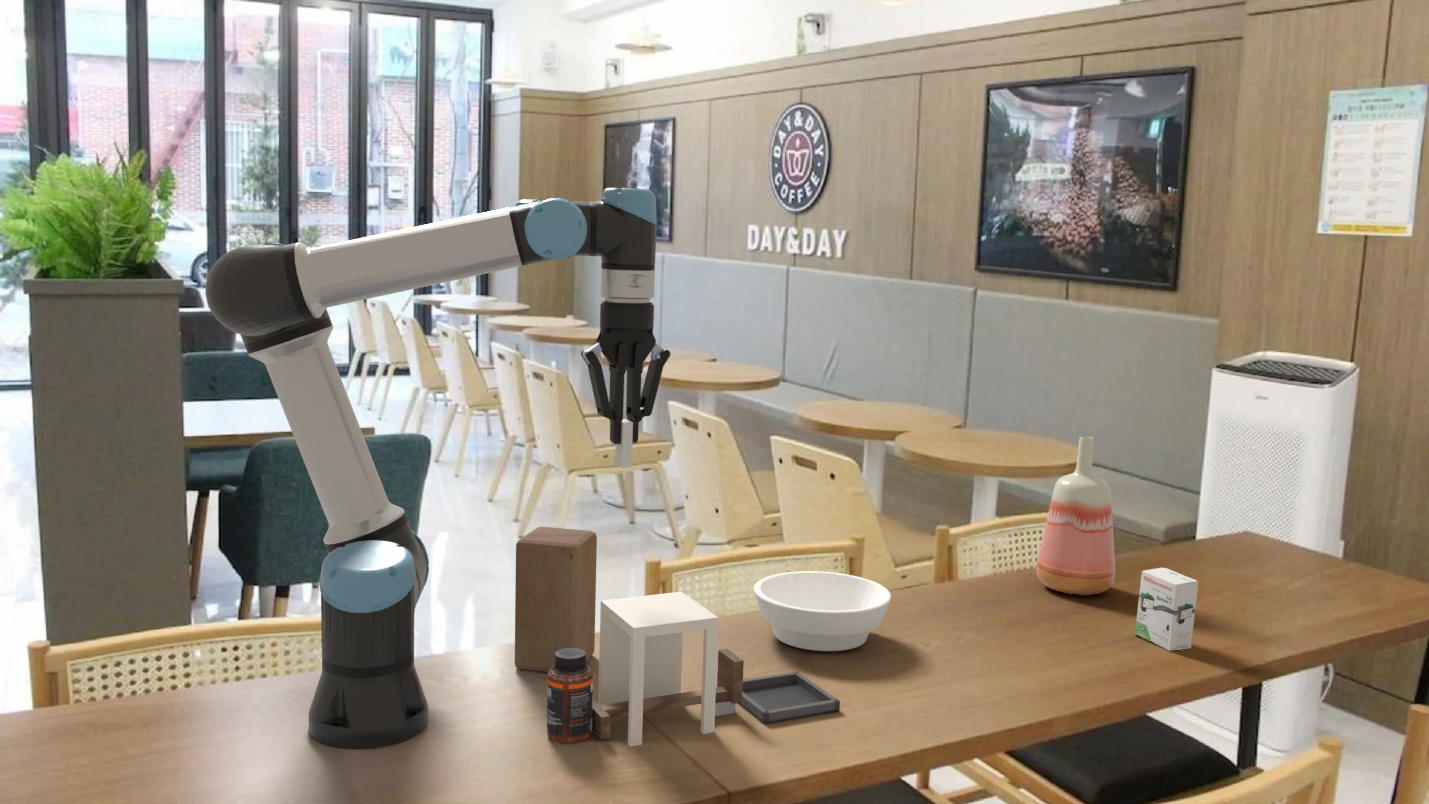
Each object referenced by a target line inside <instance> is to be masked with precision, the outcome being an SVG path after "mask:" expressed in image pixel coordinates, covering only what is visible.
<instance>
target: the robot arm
mask: <svg viewBox="0 0 1429 804" xmlns="http://www.w3.org/2000/svg"><path fill="white" fill-rule="evenodd" d="M657 224H658V222H657V197H656V195H655V194H654V193H653V191H652V190H651V189H646V188H645V189H644V188H635V187H634V188H632V187H631V188H628V187H627V188H626V187H621V188H619V187H607V188H605V189H604V190H603V192H602V197H601V200H600V201H599V200H597V201H577V200H569V199H568V198H565V197H559V196H554V197H548V198H534V199H520V200H517V202H516V203H515V205H514V206H513V207H505V208H501V209H495V210H491V211H487V212H481V213H476V214H472V215H467V216H461V217H457V218H452V219H448V220H442V221H437V222H433V223H428V224H421V225H419V226H413V227H408V228H404V229H398V230H393V231H388V232H383V233H379V234H374V235H368V236H363V237H360V238H354V239H349V240H344V241H341V242H340V241H339V242H335V243H331V244H330V243H329V244H325V245H321V246H316V247H309V246H308V245H306V244H304V243H303V242H301V241H300V242H295V243H294V242H293V243H290V244H282V243H277V242H266V243H263V244H255V245H245V246H240V247H235V248H233V249H231V250H229V251H227V252H226V253H224V254H222V255H221V256H220V257H219V258H218V259H217V260H216V261H215V262H214V263H213V265H212V266H211V267H210V270H209V271H208V274H207V276H206V281H205V286H204V287H205V289H204V290H205V299H206V304H207V305H208V308H209V310H210V312H211V314H212V315H213V317H214V318H215V319H216V320H217V321H218V322H219V323H220V324H221V325H222V326H223V327H224V328H226V329H227V330H229V331H231V332H233V333H235V334H237V335H239V336H240V337H241V339H242V342H243V344H244V347H245V349H246V352H247V355H248V357H250V358H253V359H254V360H257V361H260V362H261V363H263V364H264V365H265V368H266V370H267V373H268V375H269V377H270V380H271V382H272V383H271V384H272V385H273V387H274V388H273V389H274V390H275V393H276V395H277V398H278V400H279V402H280V405H281V408H282V410H283V413H284V416H285V418H286V420H287V423H288V425H289V428H290V431H291V433H292V435H293V438H294V440H295V443H296V445H297V447H298V450H299V452H300V455H301V458H302V460H303V462H304V465H305V467H306V471H307V472H308V475H309V477H310V481H311V484H312V486H313V488H314V490H315V492H316V496H317V497H318V501H319V503H320V505H321V507H322V511H323V513H324V515H325V518H326V521H327V523H328V529H327V531H326V533H325V535H324V537H323V539H322V540H323V543H324V546H325V549H326V552H327V555H326V556H325V557H324V559H323V561H322V564H321V567H320V568H321V572H320V575H319V581H318V583H319V586H318V587H319V591H320V613H321V616H320V619H321V621H320V622H321V623H320V625H321V627H320V628H321V629H320V630H321V674H320V676H319V679H318V683H317V685H316V690H315V692H314V695H313V698H312V701H311V704H310V708H309V711H308V732H309V735H310V736H311V737H312V738H313V739H314V740H315V741H318V742H319V743H322V744H326V745H328V746H333V747H339V748H348V749H364V748H366V749H367V748H377V747H383V746H388V745H393V744H397V743H399V742H403V741H405V740H408V739H410V738H412V737H414V736H416V735H417V734H419V733H421V732H422V731H423V730H424V729H425V728H426V727H427V724H428V722H429V706H428V705H429V704H428V700H427V698H426V695H425V692H424V689H423V687H422V683H421V681H420V678H419V675H418V673H417V669H416V665H415V612H416V607H417V604H418V602H419V599H420V598H421V595H422V593H423V590H424V588H425V586H426V584H427V581H428V578H429V571H430V567H429V565H430V562H429V561H430V560H429V554H428V552H427V549H426V546H425V544H424V542H423V541H422V539H421V537H419V535H418V534H417V533H415V531H414V530H412V527H411V523H410V522H409V520H408V517H407V515H406V513H405V512H406V511H405V510H404V508H403V507H400V506H399V505H395V504H393V503H392V502H390V501H389V499H388V496H387V493H386V491H385V489H384V486H383V482H382V480H381V478H380V475H379V473H378V470H377V468H376V465H375V462H374V460H373V457H372V455H371V452H370V449H369V448H368V445H367V443H366V439H365V437H364V433H363V432H362V429H361V427H360V424H359V421H358V419H357V417H356V416H357V415H356V413H355V411H354V408H353V406H352V403H351V400H350V398H349V396H348V393H347V389H346V388H345V385H344V382H343V380H342V377H341V374H340V373H339V370H338V368H337V364H336V362H335V358H334V357H333V354H332V352H331V349H330V346H329V344H328V343H329V339H330V338H329V337H330V336H331V334H332V332H333V329H334V325H333V322H332V320H331V317H330V314H329V312H328V310H327V309H328V308H331V307H335V306H337V307H338V306H341V305H346V304H350V303H355V302H358V301H359V302H361V301H363V300H369V299H373V298H377V297H383V296H388V295H392V294H397V293H402V292H406V291H407V292H408V291H411V290H415V289H416V290H417V289H420V288H424V287H430V286H435V285H438V284H443V283H448V282H453V281H457V280H463V279H466V278H467V279H468V278H473V277H476V276H481V275H485V274H491V273H495V272H500V271H504V270H509V269H515V268H518V267H522V266H523V267H524V266H529V265H535V264H538V263H539V264H540V263H544V262H548V261H549V262H550V261H560V260H564V259H568V258H571V257H583V256H584V257H585V256H586V257H600V260H601V267H600V268H601V270H600V271H601V272H600V291H599V292H600V293H599V295H600V296H601V297H602V298H604V300H603V301H602V300H601V303H600V306H599V307H600V308H599V313H600V314H599V330H600V331H599V334H598V336H597V337H596V343H595V344H594V345H592V346H591V347H589V348H588V349H586V348H585V349H582V350H581V351H580V355H581V358H582V360H583V361H584V363H585V364H586V365H587V369H588V370H587V371H588V374H589V375H588V376H589V379H590V384H591V390H592V392H593V399H594V403H595V407H596V412H597V414H598V415H599V416H601V417H603V418H606V419H608V420H609V423H610V424H609V440H610V443H612V444H614V445H615V447H614V448H615V451H614V453H615V454H614V455H615V456H614V458H615V459H614V465H616V466H618V467H619V468H622V469H625V468H633V467H632V465H633V444H637V443H638V441H639V425H640V424H639V423H640V422H642V420H643V418H645V417H650V416H651V415H652V414H653V409H654V405H655V401H656V397H657V393H658V389H659V385H660V381H661V378H662V374H663V370H664V366H665V364H666V363H667V361H668V360H669V358H670V357H671V352H670V350H669V349H665V348H663V347H661V346H660V345H659V344H657V339H656V336H655V335H654V323H655V321H654V319H655V304H653V302H651V299H654V298H655V286H656V285H655V283H656V282H655V281H656V270H655V269H656V266H655V265H656V250H657V248H656V247H657ZM601 353H602V355H603V356H604V358H605V359H606V360H607V362H608V371H609V395H608V390H607V385H606V380H605V376H604V370H603V367H602V363H601V362H600V361H601V360H602V355H601ZM649 355H650V361H649V363H648V367H647V371H646V374H645V379H644V383H643V387H642V373H643V372H644V371H643V370H644V369H643V368H644V362H645V361H646V359H647V357H648V356H649ZM625 374H626V395H625ZM625 396H626V397H625ZM624 397H625V398H624ZM624 399H626V400H625V402H626V403H625V405H626V407H625V416H626V418H624Z"/></svg>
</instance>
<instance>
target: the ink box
mask: <svg viewBox="0 0 1429 804" xmlns="http://www.w3.org/2000/svg"><path fill="white" fill-rule="evenodd" d="M1139 584H1140V585H1139V596H1138V604H1137V612H1136V613H1137V614H1136V623H1135V631H1134V635H1135V634H1136V635H1139V636H1141V637H1143V638H1145V639H1147V640H1149V641H1153V642H1154V643H1156V644H1159V645H1160V646H1162V647H1165V648H1166V649H1168V650H1181V649H1185V648H1186V649H1187V648H1191V649H1192V642H1193V633H1194V624H1195V615H1196V608H1197V607H1196V606H1197V601H1198V600H1197V599H1198V589H1199V582H1198V580H1197V579H1194V578H1192V577H1189V576H1186V575H1184V574H1182V573H1179V572H1177V571H1174V570H1172V569H1169V568H1166V567H1158V568H1151V569H1145V570H1142V571H1141V575H1140V583H1139ZM1181 651H1182V650H1181Z"/></svg>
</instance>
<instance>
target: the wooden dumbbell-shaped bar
mask: <svg viewBox="0 0 1429 804" xmlns="http://www.w3.org/2000/svg"><path fill="white" fill-rule="evenodd" d="M744 662H745V661H744V660H743V659H742V658H740V657H739V656H738V655H737V654H736V653H734V652H733V651H731V650H730V649H729V648H722V649H717V674H716V697H715V702H716V701H722V700H729V701H730V702H731V703H732V704H735V705H736V704H739V703H741V702H742V690H743V680H744ZM701 702H702V689H699V690H691V691H685V692H681V693H677V694H671V695H664V696H658V697H651V698H645V699H643V714H645V713H653V712H657V711H663V710H670V709H679V708H683V707H689V706H696V705H701ZM625 716H626V717H628V716H629V701H625V702H619V703H612V704H605V705H599V704H598V702H597V701H596V699H594V698H593V719H592V732H593V733H594V734H596V736H597V737H598V738H599V740H605V739H606V740H607V739H610V731H611V729H610V726H611V719H613V718H621V717H625Z"/></svg>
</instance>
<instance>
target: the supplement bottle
mask: <svg viewBox="0 0 1429 804" xmlns="http://www.w3.org/2000/svg"><path fill="white" fill-rule="evenodd" d="M546 678H547V685H546V686H547V687H546V688H547V689H546V690H547V692H546V693H547V696H546V697H547V698H546V699H547V700H546V704H547V705H546V709H547V710H546V722H547V723H546V733H547V736H548V737H549V739H551V740H552V741H555V742H556V743H557V742H558V743H565V744H575V743H579V742H583V741H586V740H587V739H588V738H590V737H591V736H592V734H593V730H592V719H593V699H594V692H593V691H594V673H593V670H592V668H591V667H590V666H588V665H587V662H586V653H585V651H583V650H581V649H577V648H566V649H561V650H559V651H557V652H556V653H555V665H554V666H553V667H552V668H551V669H550V670H549V672H547V677H546Z"/></svg>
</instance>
